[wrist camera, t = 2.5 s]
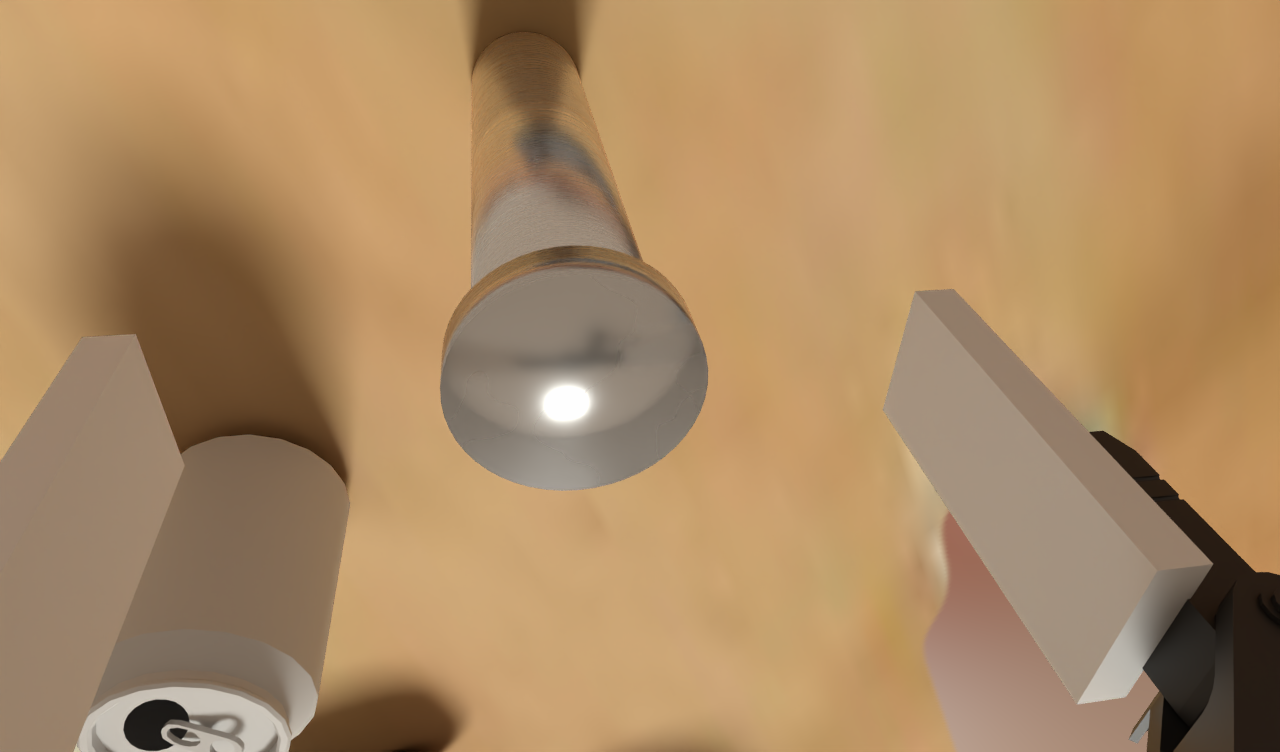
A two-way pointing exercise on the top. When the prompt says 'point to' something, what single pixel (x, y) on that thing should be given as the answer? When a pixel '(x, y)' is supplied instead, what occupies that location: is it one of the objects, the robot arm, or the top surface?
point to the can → (228, 607)
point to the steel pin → (559, 294)
